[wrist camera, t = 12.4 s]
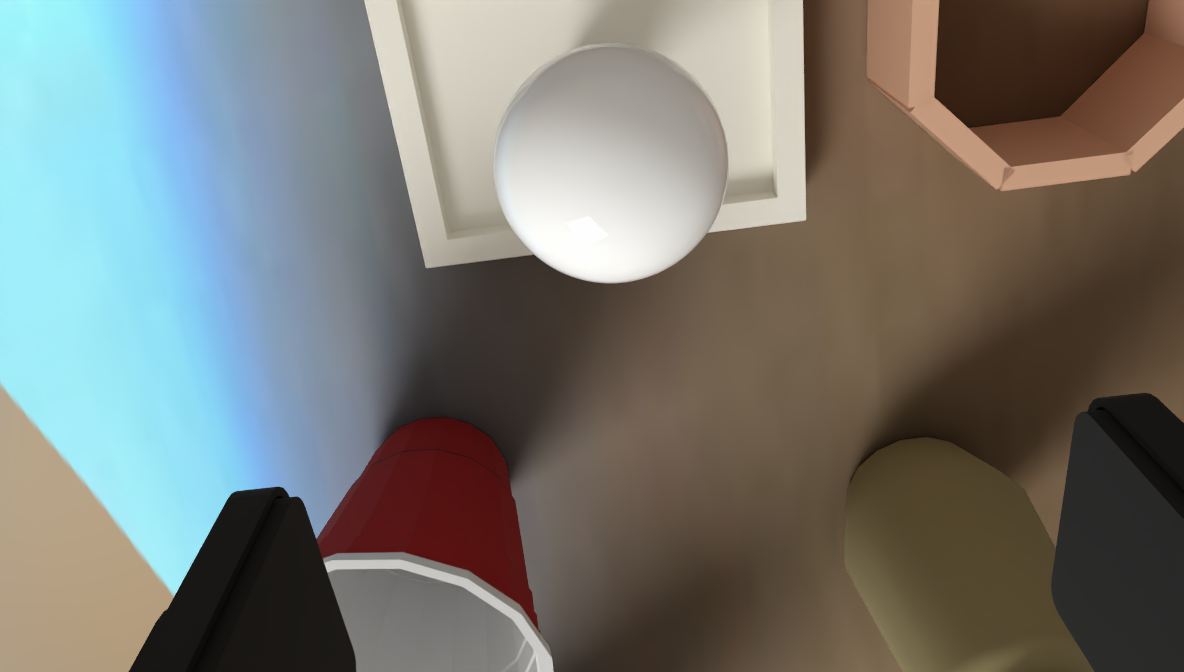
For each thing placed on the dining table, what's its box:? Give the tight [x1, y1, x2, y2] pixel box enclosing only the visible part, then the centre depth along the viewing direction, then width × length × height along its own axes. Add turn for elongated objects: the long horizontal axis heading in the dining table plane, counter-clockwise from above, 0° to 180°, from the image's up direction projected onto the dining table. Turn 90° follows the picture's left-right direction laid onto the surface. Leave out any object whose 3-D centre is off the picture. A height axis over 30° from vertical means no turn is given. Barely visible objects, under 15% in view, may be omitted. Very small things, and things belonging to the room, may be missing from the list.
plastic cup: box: [316, 417, 554, 672], centre depth 35 cm, size 11×11×12 cm
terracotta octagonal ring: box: [867, 0, 1184, 191], centre depth 30 cm, size 11×11×4 cm
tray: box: [364, 0, 806, 268], centre depth 32 cm, size 14×11×2 cm
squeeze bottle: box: [844, 437, 1094, 672], centre depth 34 cm, size 8×8×18 cm
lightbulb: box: [493, 42, 729, 283], centre depth 27 cm, size 6×6×11 cm
